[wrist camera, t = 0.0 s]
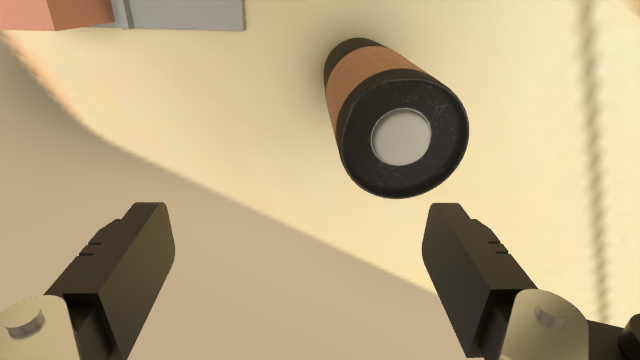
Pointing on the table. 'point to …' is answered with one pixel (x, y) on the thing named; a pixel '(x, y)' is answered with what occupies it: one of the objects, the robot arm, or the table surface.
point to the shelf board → (178, 14)
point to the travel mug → (392, 120)
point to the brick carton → (53, 14)
